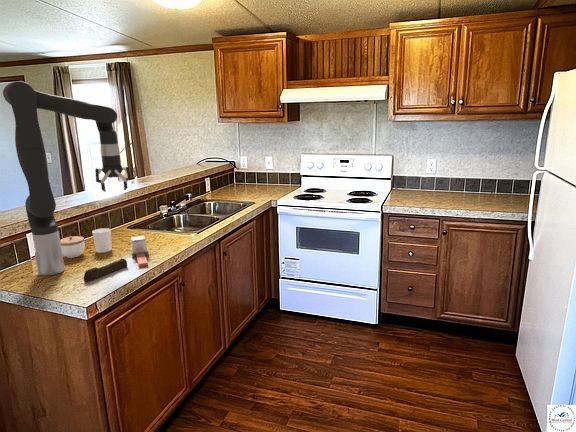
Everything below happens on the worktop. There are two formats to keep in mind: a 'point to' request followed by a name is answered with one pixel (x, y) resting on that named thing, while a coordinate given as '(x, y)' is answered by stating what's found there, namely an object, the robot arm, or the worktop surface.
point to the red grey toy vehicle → (141, 258)
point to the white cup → (102, 240)
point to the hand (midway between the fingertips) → (115, 190)
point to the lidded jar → (72, 246)
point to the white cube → (138, 244)
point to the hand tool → (104, 270)
